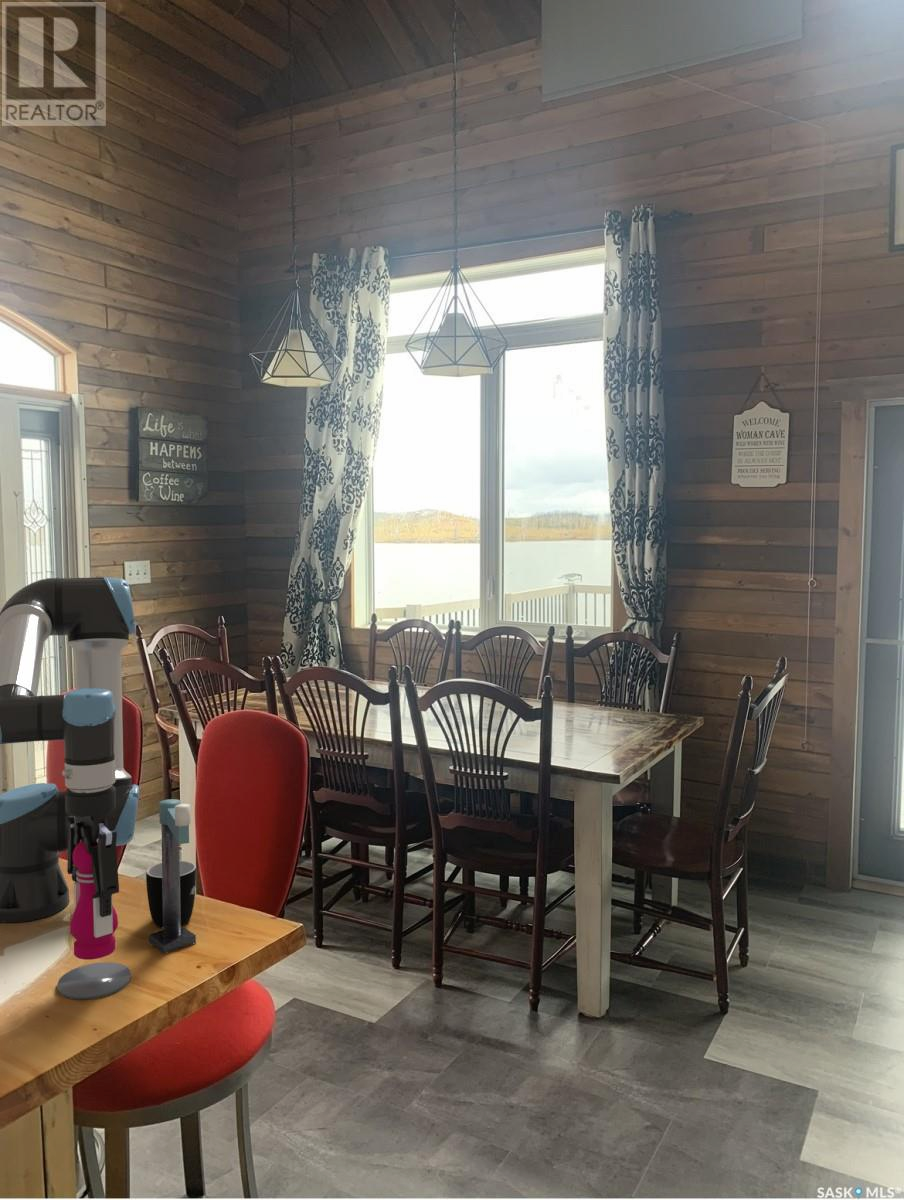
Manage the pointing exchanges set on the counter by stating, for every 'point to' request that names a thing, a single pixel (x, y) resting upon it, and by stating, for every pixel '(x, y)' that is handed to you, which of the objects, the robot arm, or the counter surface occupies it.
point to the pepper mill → (88, 912)
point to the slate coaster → (94, 980)
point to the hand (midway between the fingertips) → (93, 926)
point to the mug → (157, 895)
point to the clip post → (171, 899)
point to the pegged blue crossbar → (176, 818)
